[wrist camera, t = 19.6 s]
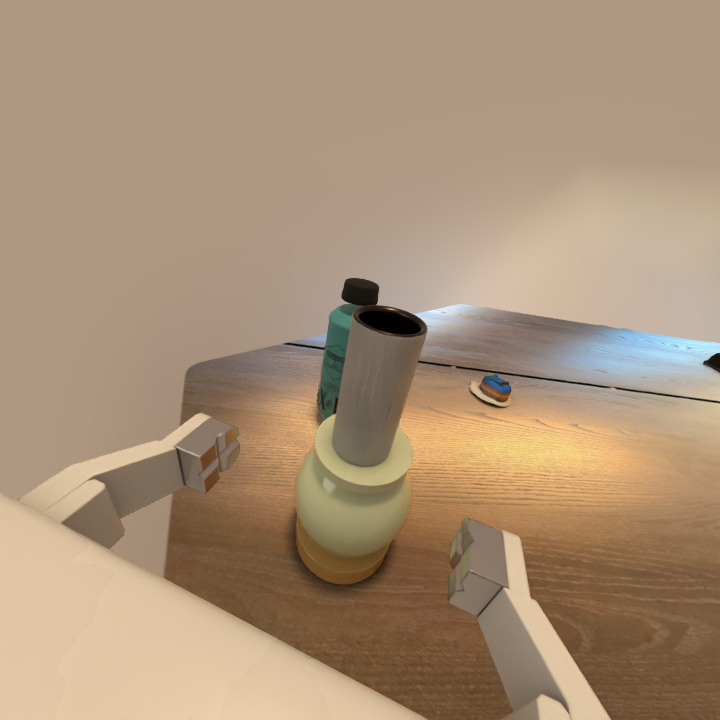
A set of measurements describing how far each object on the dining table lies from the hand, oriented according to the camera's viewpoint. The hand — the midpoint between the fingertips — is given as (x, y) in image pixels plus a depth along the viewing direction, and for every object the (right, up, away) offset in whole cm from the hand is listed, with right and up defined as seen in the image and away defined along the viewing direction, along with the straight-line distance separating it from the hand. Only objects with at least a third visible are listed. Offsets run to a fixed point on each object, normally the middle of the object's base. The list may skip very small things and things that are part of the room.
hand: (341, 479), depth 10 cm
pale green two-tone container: (-1, -13, +19) cm, 22 cm away
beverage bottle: (-3, -4, +32) cm, 33 cm away
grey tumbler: (+1, -2, +13) cm, 13 cm away
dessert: (+25, -2, +45) cm, 51 cm away
